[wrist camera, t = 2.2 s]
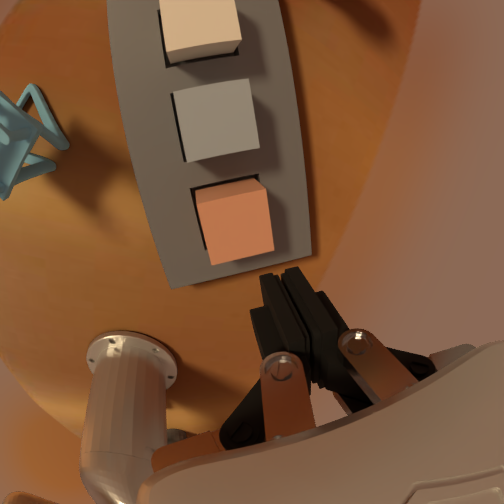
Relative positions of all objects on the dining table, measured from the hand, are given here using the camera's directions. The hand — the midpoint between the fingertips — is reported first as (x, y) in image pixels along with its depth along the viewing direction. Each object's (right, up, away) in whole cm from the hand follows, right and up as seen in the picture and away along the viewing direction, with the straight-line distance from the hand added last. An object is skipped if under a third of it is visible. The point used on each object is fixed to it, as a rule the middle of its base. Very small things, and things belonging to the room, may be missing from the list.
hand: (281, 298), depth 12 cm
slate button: (-4, +12, +8) cm, 15 cm away
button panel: (-5, +14, +10) cm, 18 cm away
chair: (-22, +13, +7) cm, 27 cm away
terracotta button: (-3, +5, +12) cm, 14 cm away
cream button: (-6, +19, +4) cm, 21 cm away
